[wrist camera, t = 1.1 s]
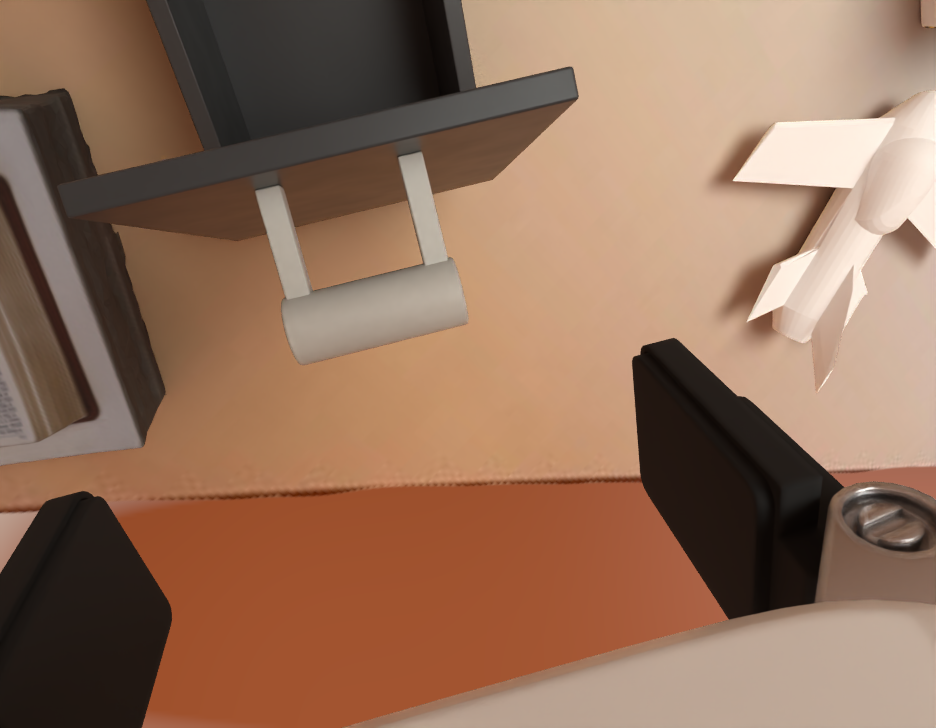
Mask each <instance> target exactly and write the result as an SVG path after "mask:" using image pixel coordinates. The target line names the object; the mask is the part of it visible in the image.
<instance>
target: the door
mask: <svg viewBox="0 0 936 728" xmlns="http://www.w3.org/2000/svg"><path fill="white" fill-rule="evenodd" d="M578 96H579V95H578V90H577V85H576V80H575V75H574V70H573V68H572V67H565V68H561V69H557V70H552V71H548V72H544V73H539V74H535V75H531V76H526V77H522V78H518V79H513V80H509V81H505V82H500V83H496V84H492V85H487V86H483V87H479V88H474V89H470V90H466V91H461V92H457V93H453V94H448V95H444V96H440V97H435V98H431V99H427V100H422V101H418V102H414V103H409V104H405V105H401V106H396V107H392V108H388V109H383V110H379V111H375V112H370V113H366V114H362V115H357V116H353V117H349V118H344V119H340V120H336V121H331V122H327V123H323V124H318V125H314V126H310V127H305V128H301V129H297V130H292V131H288V132H284V133H279V134H275V135H271V136H266V137H262V138H258V139H253V140H249V141H245V142H241V143H236V144H232V145H228V146H223V147H219V148H215V149H210V150H206V151H202V152H197V153H193V154H189V155H184V156H180V157H176V158H171V159H167V160H163V161H158V162H154V163H150V164H145V165H141V166H137V167H132V168H128V169H124V170H119V171H115V172H111V173H106V174H102V175H98V176H93V177H89V178H85V179H80V180H76V181H72V182H67V183H63V184H60V185H58V186H57V188H58V191H59V194H60V197H61V200H62V203H63V206H64V209H65V212H66V215H67V216H68V217H69V218H74V219H81V220H88V221H95V222H103V223H110V224H117V225H124V226H132V227H139V228H146V229H154V230H161V231H168V232H175V233H183V234H190V235H197V236H204V237H212V238H219V239H226V240H234V241H239V240H244V239H248V238H252V237H256V236H260V235H264V234H267V236H268V240H269V243H270V247H271V250H272V253H273V257H274V260H275V264H276V267H277V271H278V274H279V277H280V281H281V284H282V288H283V291H284V295H285V298H284V299H283V300H282V303H281V313H282V320H283V325H284V329H285V333H286V337H287V340H288V343H289V346H290V348H291V351H292V353H293V355H294V357H295V359H296V360H297V362H298V363H299V364H300V365H308V364H311V363H315V362H319V361H323V360H327V359H331V358H335V357H339V356H343V355H347V354H351V353H355V352H359V351H363V350H367V349H371V348H375V347H379V346H383V345H387V344H391V343H395V342H399V341H402V340H406V339H410V338H414V337H418V336H422V335H426V334H430V333H434V332H438V331H442V330H446V329H450V328H454V327H458V326H462V325H466V324H467V323H468V312H467V306H466V301H465V297H464V293H463V289H462V285H461V281H460V277H459V274H458V271H457V267H456V265H455V262H454V260H453V259H452V258H450V257H449V258H448V256H447V252H446V248H445V244H444V240H443V236H442V232H441V227H440V223H439V219H438V215H437V211H436V207H435V203H434V199H433V195H432V194H435V193H440V192H444V191H448V190H452V189H456V188H460V187H465V186H469V185H473V184H477V183H481V182H485V181H490V180H493V179H494V178H495V177H496V176H497V175H498V174H499V173H500V172H501V171H503V170H504V169H505V168H506V167H507V166H508V165H509V164H510V163H511V162H512V161H513V160H514V159H515V158H516V157H517V156H518V155H519V154H520V153H521V152H523V151H524V150H525V149H526V148H527V147H528V146H529V145H530V144H531V143H532V142H533V141H534V140H535V139H536V138H537V137H538V136H539V135H540V134H541V133H542V132H544V131H545V130H546V129H547V128H548V127H549V126H550V125H551V124H552V123H553V122H554V121H555V120H556V119H557V118H558V117H559V116H560V115H561V114H562V113H563V112H565V111H566V110H567V109H568V108H569V107H570V106H571V105H572V104H573V103H574V102H575V101H576V100H577V99H578ZM406 200H408V204H409V208H410V212H411V216H412V220H413V224H414V228H415V232H416V236H417V240H418V244H419V248H420V252H421V256H422V260H423V264H420V265H416V266H412V267H408V268H404V269H400V270H396V271H392V272H388V273H384V274H380V275H376V276H372V277H368V278H364V279H359V280H355V281H351V282H347V283H343V284H339V285H335V286H331V287H327V288H323V289H319V290H315V291H313V290H312V286H311V283H310V279H309V276H308V272H307V269H306V265H305V262H304V258H303V255H302V251H301V248H300V244H299V240H298V237H297V233H296V230H295V227H298V226H302V225H306V224H310V223H315V222H319V221H323V220H327V219H331V218H335V217H340V216H344V215H348V214H352V213H356V212H360V211H365V210H369V209H373V208H377V207H381V206H385V205H390V204H394V203H398V202H402V201H406Z"/></svg>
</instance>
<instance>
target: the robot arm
mask: <svg viewBox="0 0 936 728" xmlns="http://www.w3.org/2000/svg"><path fill="white" fill-rule="evenodd" d="M632 368H633V381H634V395H635V408H636V422H637V435H638V449H639V462H640V474H641V479H642V483H643V486H644V488H645V490H646V492H647V494H648V496H649V497H650V499H651V500H652V502H653V503H654V505H655V506H656V508H657V509H658V511H659V513H660V514H661V516H662V517H663V519H664V520H665V522H666V523H667V525H668V526H669V528H670V530H671V531H672V532H673V534H674V536H675V537H676V539H677V540H678V542H679V543H680V545H681V546H682V548H683V550H684V551H685V553H686V554H687V556H688V557H689V559H690V560H691V562H692V563H693V565H694V566H695V568H696V570H697V571H698V573H699V574H700V576H701V577H702V579H703V580H704V582H705V583H706V585H707V587H708V588H709V590H710V591H711V593H712V594H713V596H714V597H715V599H716V600H717V602H718V603H719V605H720V607H721V608H722V609H723V611H724V613H725V614H726V616H727V617H728V619H729V620H726V621H723V622H719V623H715V624H711V625H708V626H704V627H700V628H696V629H692V630H689V631H685V632H681V633H677V634H673V635H669V636H666V637H662V638H658V639H654V640H650V641H647V642H643V643H639V644H635V645H632V646H628V647H624V648H621V649H617V650H614V651H610V652H607V653H603V654H599V655H596V656H593V657H589V658H585V659H582V660H578V661H575V662H571V663H568V664H564V665H560V666H557V667H553V668H550V669H546V670H543V671H539V672H536V673H532V674H529V675H525V676H521V677H518V678H515V679H511V680H508V681H504V682H500V683H497V684H493V685H490V686H486V687H482V688H479V689H475V690H472V691H468V692H465V693H461V694H458V695H454V696H451V697H447V698H444V699H440V700H437V701H433V702H430V703H426V704H423V705H419V706H416V707H412V708H409V709H406V710H402V711H398V712H395V713H391V714H388V715H384V716H381V717H377V718H374V719H371V720H367V721H364V722H360V723H357V724H353V725H350V726H346V727H343V728H936V500H935V499H934V498H933V497H931V496H929V495H927V494H924V493H922V492H920V491H918V490H915V489H913V488H910V487H906V486H902V485H898V484H894V483H885V482H866V483H856V484H854V485H851V486H848V487H843V486H842V485H841V484H840V483H839V482H838V481H837V480H836V479H835V478H834V477H833V476H832V475H830V474H829V473H828V472H827V471H826V470H825V469H824V468H823V467H822V466H821V465H820V464H819V463H817V462H816V461H815V460H814V459H813V458H812V457H811V456H810V455H809V454H808V453H807V452H806V451H804V450H803V449H802V448H801V447H800V446H799V445H798V444H797V443H796V442H795V441H794V440H793V439H791V438H790V437H789V436H788V435H787V434H786V433H785V432H784V431H783V430H782V429H781V428H780V427H778V426H777V425H776V424H775V423H774V422H773V421H772V420H771V419H770V418H769V417H768V416H767V415H766V414H764V413H763V412H762V411H761V410H760V409H759V408H758V407H757V406H756V405H755V404H754V403H753V402H751V401H750V400H748V399H747V398H746V397H741V396H737V395H736V394H735V393H733V392H732V391H731V390H730V389H729V388H728V387H727V386H726V385H725V384H724V383H723V382H722V381H721V380H720V379H719V378H718V377H717V376H715V375H714V374H713V373H712V372H711V371H710V370H709V369H708V368H707V367H706V366H705V365H704V364H703V363H702V362H701V361H700V360H698V359H697V358H696V357H695V356H694V355H693V354H692V353H691V352H690V351H689V350H688V349H687V348H686V347H685V346H684V345H683V344H682V343H680V342H679V341H678V340H677V339H675V338H671V339H668V340H664V341H660V342H656V343H652V344H648V345H644V346H643V347H642V348H641V355H638V356H634V358H633V360H632ZM171 621H172V612H171V607H170V604H169V602H168V600H167V598H166V597H165V595H164V594H163V592H162V590H161V589H160V587H159V586H158V584H157V582H156V581H155V579H154V578H153V576H152V574H151V573H150V571H149V570H148V568H147V566H146V565H145V563H144V562H143V560H142V558H141V557H140V555H139V554H138V552H137V550H136V549H135V547H134V546H133V544H132V542H131V541H130V539H129V538H128V536H127V534H126V533H125V531H124V530H123V528H122V526H121V525H120V523H119V522H118V520H117V518H116V517H115V515H114V514H113V512H112V510H111V509H110V507H109V506H108V504H107V502H106V501H105V500H104V499H103V498H102V497H99V496H96V497H94V496H93V495H92V494H90V493H89V492H86V491H81V492H78V493H74V494H70V495H66V496H62V497H58V498H55V499H51V500H48V501H46V502H45V503H44V504H43V506H42V507H41V509H40V510H39V512H38V514H37V515H36V517H35V518H34V520H33V522H32V523H31V525H30V527H29V528H28V530H27V531H26V533H25V535H24V536H23V538H22V539H21V541H20V543H19V544H18V546H17V547H16V549H15V551H14V552H13V554H12V556H11V557H10V559H9V560H8V562H7V564H6V565H5V567H4V569H3V570H2V572H1V573H0V728H142V725H143V721H144V718H145V714H146V710H147V707H148V704H149V700H150V697H151V693H152V690H153V686H154V683H155V679H156V676H157V672H158V669H159V665H160V661H161V658H162V655H163V651H164V647H165V644H166V640H167V637H168V633H169V630H170V626H171Z"/></svg>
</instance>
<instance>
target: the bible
mask: <svg viewBox="0 0 936 728" xmlns="http://www.w3.org/2000/svg"><path fill="white" fill-rule="evenodd" d="M93 176H98V175H97V172H96V169H95V167H94V165H93V163H92V160H91V154H90V149H89V146H88V145H87V144H86V142H85V140H84V138H83V135H82V133H81V130H80V126H79V123H78V119H77V116H76V112H75V109H74V106H73V103H72V99H71V97H70V95H69V93H68V92H67V91H66V90H65V89H57V90H50V91H48V92H47V93H44V94H39V95H26V94H25V95H22V96H19V97H9V96H0V466H2V465H8V464H16V463H23V462H31V461H38V460H46V459H52V458H60V457H69V456H76V455H83V454H90V453H97V452H107V451H117V450H125V449H133V448H141V447H143V446H144V444H145V440H146V435H147V431H148V429H149V427H150V425H151V423H152V420H153V418H154V415H155V413H156V410H157V408H158V406H159V405H160V403H161V401H162V399H163V397H164V395H165V388H164V384H163V381H162V379H161V375H160V372H159V369H158V366H157V363H156V360H155V357H154V355H153V352H152V349H151V346H150V341H149V336H148V333H147V329H146V326H145V323H144V321H143V320H142V318H141V314H140V310H139V306H138V303H137V300H136V297H135V295H134V292H133V289H132V284H131V281H130V278H129V275H128V272H127V269H126V266H125V254H124V251H123V247H122V244H121V240H120V237H119V234H118V232H117V233H116V234H115V233H114V232H113V229H112V227H111V224H110V223H103V222H95V221H88V220H81V219H74V218H69V217H68V216H67V215H66V212H65V209H64V206H63V203H62V200H61V197H60V194H59V191H58V188H57V186H58V185H60V184H63V183H67V182H72V181H76V180H80V179H85V178H89V177H93Z"/></svg>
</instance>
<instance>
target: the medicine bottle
mask: <svg viewBox="0 0 936 728" xmlns="http://www.w3.org/2000/svg"><path fill="white" fill-rule="evenodd" d="M921 24H922V26H923V27H925V28H936V0H921Z"/></svg>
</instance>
